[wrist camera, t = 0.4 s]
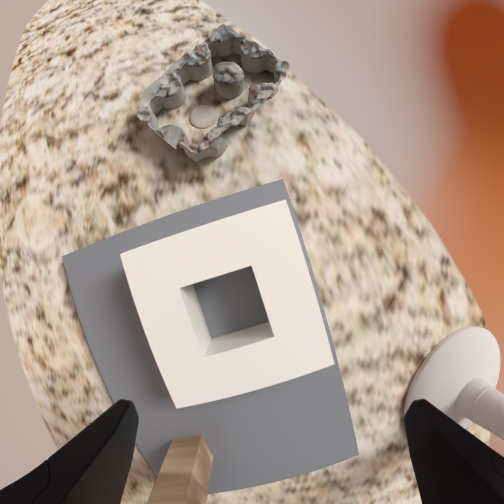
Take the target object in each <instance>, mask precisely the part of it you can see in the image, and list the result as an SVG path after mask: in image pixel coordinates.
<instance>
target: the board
mask: <svg viewBox="0 0 504 504" xmlns="http://www.w3.org/2000/svg"><path fill="white" fill-rule="evenodd" d="M285 199H286V202H287V205H288V208H289V211H290V214H291V217H292V220H293V223H294V226H295V229H296V232H297V235H298V238H299V242H300V245H301V248H302V251H303V254H304V258H305V261H306V264H307V267H308V271H309V274H310V277H311V281H312V284H313V287H314V291H315V294H316V298H317V301H318V305H319V308H320V312H321V315H322V319H323V322H324V326H325V330H326V333H327V337H328V341H329V344H330V348H331V352H332V356H333V359H334V363H335V364H334V365H331V366H328V367H326V368H323V369H320V370H317V371H315V372H312V373H309V374H306V375H303V376H300V377H297V378H294V379H291V380H288V381H285V382H282V383H278V384H275V385H272V386H268V387H265V388H262V389H258V390H255V391H251V392H247V393H244V394H240V395H236V396H232V397H228V398H224V399H220V400H215V401H211V402H207V403H202V404H197V405H193V406H188V407H182V408H177V409H176V406H175V404H174V402H173V400H172V398H171V396H170V393H169V391H168V389H167V387H166V384H165V382H164V380H163V377H162V375H161V373H160V370H159V368H158V365H157V363H156V360H155V358H154V355H153V353H152V350H151V348H150V345H149V342H148V340H147V337H146V334H145V332H144V329H143V326H142V323H141V320H140V317H139V315H138V312H137V309H136V306H135V303H134V300H133V296H132V293H131V290H130V287H129V284H128V280H127V277H126V274H125V270H124V267H123V263H122V260H121V256H120V254H121V253H124V252H126V251H129V250H132V249H135V248H138V247H140V246H143V245H146V244H149V243H152V242H155V241H157V240H160V239H163V238H166V237H169V236H172V235H175V234H178V233H181V232H184V231H187V230H190V229H193V228H196V227H199V226H202V225H205V224H208V223H211V222H214V221H217V220H220V219H224V218H227V217H230V216H233V215H236V214H239V213H243V212H246V211H249V210H252V209H255V208H259V207H262V206H265V205H269V204H272V203H275V202H279V201H282V200H285ZM62 258H63V262H64V267H65V271H66V274H67V278H68V282H69V286H70V289H71V293H72V296H73V300H74V303H75V306H76V309H77V312H78V316H79V319H80V322H81V325H82V327H83V330H84V333H85V336H86V339H87V341H88V344H89V347H90V349H91V352H92V354H93V357H94V359H95V362H96V364H97V367H98V369H99V372H100V374H101V376H102V379H103V381H104V383H105V385H106V387H107V390H108V392H109V394H110V396H111V398H112V400H113V402H114V404H115V403H116V402H117V401H118V400H120V399H126V400H131V401H133V403H134V405H135V408H136V411H137V413H138V416H139V424H138V429H137V435H136V441H135V444H136V445H137V447H138V449H139V451H140V452H141V454H142V455H143V457H144V459H145V460H146V462H147V464H148V465H149V467H150V468H151V470H152V471H153V473H154V474H155V476H156V477H158V474H159V472H160V469H161V467H162V464H163V462H164V459H165V457H166V454H167V452H168V449H169V447H170V444H171V442H172V439H175V438H181V437H188V436H194V435H200V434H202V435H203V437H204V439H205V441H206V443H207V445H208V447H209V449H210V451H211V453H212V455H213V462H212V469H211V475H210V481H209V487H208V493H207V494H211V493H218V492H225V491H232V490H238V489H243V488H249V487H254V486H259V485H263V484H268V483H272V482H276V481H280V480H284V479H288V478H292V477H295V476H299V475H302V474H306V473H309V472H312V471H315V470H318V469H321V468H324V467H327V466H330V465H333V464H336V463H339V462H341V461H344V460H347V459H349V458H352V457H354V456H357V455H359V453H358V448H357V443H356V438H355V433H354V429H353V424H352V420H351V415H350V411H349V406H348V402H347V398H346V393H345V389H344V385H343V381H342V377H341V373H340V369H339V365H338V361H337V357H336V353H335V349H334V345H333V342H332V338H331V334H330V330H329V327H328V323H327V319H326V316H325V312H324V309H323V305H322V302H321V298H320V295H319V291H318V288H317V284H316V281H315V278H314V274H313V271H312V268H311V264H310V261H309V258H308V255H307V251H306V248H305V245H304V242H303V239H302V235H301V232H300V229H299V226H298V223H297V220H296V217H295V214H294V211H293V208H292V205H291V202H290V199H289V196H288V193H287V190H286V187H285V184H284V181H283V179H282V180H278V181H275V182H271V183H268V184H264V185H261V186H258V187H254V188H251V189H248V190H244V191H241V192H238V193H235V194H232V195H228V196H225V197H222V198H219V199H216V200H213V201H210V202H207V203H204V204H201V205H198V206H195V207H192V208H189V209H186V210H183V211H180V212H177V213H174V214H171V215H168V216H165V217H163V218H160V219H157V220H154V221H151V222H149V223H146V224H143V225H141V226H138V227H135V228H132V229H130V230H127V231H124V232H122V233H119V234H117V235H114V236H111V237H109V238H106V239H104V240H101V241H99V242H96V243H94V244H91V245H89V246H86V247H84V248H81V249H79V250H77V251H74V252H72V253H69V254H67V255H65V256H62ZM193 286H194V289H195V292H196V295H197V298H198V301H199V304H200V307H201V310H202V313H203V316H204V319H205V322H206V325H207V327H208V330H209V333H210V336H211V339H212V338H216V337H219V336H223V335H226V334H230V333H233V332H236V331H240V330H243V329H246V328H250V327H253V326H256V325H259V324H263V323H266V322H269V320H268V316H267V313H266V310H265V307H264V304H263V301H262V298H261V295H260V291H259V288H258V285H257V282H256V279H255V276H254V273H253V269H252V266H248V267H245V268H242V269H239V270H236V271H232V272H229V273H226V274H223V275H220V276H217V277H213V278H210V279H207V280H204V281H200V282H197V283H194V284H193Z"/></svg>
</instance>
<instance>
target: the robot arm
mask: <svg viewBox="0 0 504 504" xmlns="http://www.w3.org/2000/svg"><path fill="white" fill-rule="evenodd" d="M138 424H139V416H138V413H137V411H136V408H135V405H134V403H133V401H131V400H126V399H120V400H118V401H117V402H116V403H115V404H113V405H112V406H111V407H110V408H109V409H107V410H106V411H105V412H104V413H103V414H102V415H100V416H99V417H98V418H97V419H96V420H94V421H93V422H92V423H91V424H90V425H88V426H87V427H86V428H85V429H84V430H82V431H81V432H80V433H79V434H78V435H76V436H75V437H74V438H73V439H71V440H70V441H69V442H68V443H67V444H65V445H64V446H63V447H62V448H60V449H59V450H58V451H57V452H56V453H54V454H53V455H52V456H51V457H49V458H48V460H45V461H44V462H43V463H42V464H40V465H39V466H38V467H36V468H35V469H34V470H32V471H31V472H30V473H28V474H27V475H25V476H23V477H22V478H20V479H19V480H17V481H15V482H14V483H12V484H10V485H8V486H7V487H5V488H3V489H1V490H0V504H120V502H121V498H122V495H123V491H124V488H125V484H126V481H127V477H128V474H129V470H130V467H131V463H132V459H133V453H134V447H135V441H136V435H137V429H138ZM404 424H405V429H406V435H407V440H408V446H409V452H410V457H411V461H412V465H413V469H414V472H415V476H416V480H417V484H418V488H419V492H420V496H421V501H422V504H504V457H503V456H501V455H500V454H498V453H497V452H496V451H494V450H492V449H491V448H490V447H489V446H487V445H486V444H485V443H483V442H482V441H481V440H479V439H478V438H477V437H475V436H474V435H473V434H471V433H470V432H469V431H467V430H466V429H465V428H463V427H462V426H460V425H459V424H458V423H456V422H455V421H454V420H452V419H451V418H450V417H448V416H447V415H446V414H444V413H443V412H442V411H440V410H439V409H438V408H436V407H435V406H434V405H432V404H431V403H430V402H429V401H427V400H426V399H417V400H414V401H413V402H412V403H411V405H410V407H409V408H408V410H407V412H406V414H405V416H404Z"/></svg>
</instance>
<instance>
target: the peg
mask: <svg viewBox="0 0 504 504" xmlns="http://www.w3.org/2000/svg"><path fill="white" fill-rule="evenodd" d="M212 462H213V455H212V453H211V451H210V449H209V447H208V445H207V443H206V441H205V439H204V437H203V435H202V434H200V435H194V436H188V437H181V438H175V439H172V442H171V444H170V447H169V449H168V452H167V454H166V457H165V459H164V462H163V464H162V467H161V469H160V472H159V474H158V477H157V479H156V482H155V484H154V487H153V489H152V492H151V494H150V497H149V499H148V502H147V504H206V500H207V493H208V487H209V481H210V475H211V469H212Z"/></svg>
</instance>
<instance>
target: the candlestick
mask: <svg viewBox="0 0 504 504" xmlns="http://www.w3.org/2000/svg"><path fill="white" fill-rule="evenodd" d="M499 371H500V351H499V346H498V343H497V341H496V339H495V338H494V336H493V335H492V334H491V333H490V332H489V331H488V330H486V329H484V328H481V327H477V326H468V327H464V328H461V329H458V330H456V331H454V332H453V333H451V334H449V335H448V336H447V337H445V338H444V339H443V340H442V341H441V342H439V343H438V344H437V345H436V346H435V347H434V348H433V350H432V351H431V352H430V353H429V354H428V356H427V357H426V358H425V360H424V361H423V362H422V364H421V365H420V367H419V369H418V370H417V372H416V374H415V376H414V378H413V380H412V382H411V384H410V387H409V390H408V393H407V396H406V400H405V405H404V416H405V414H406V412H407V410H408V408H409V407H410V405H411V403H412V402H413V401H414V400H417V399H426V400H427V401H429V402H430V403H431V404H432V405H434V406H435V407H436V408H438V409H439V410H440V411H442V412H443V413H444V414H446V415H447V416H448V417H450V418H451V419H452V420H454V421H455V422H456V423H458V424H459V425H460V426H462V427H463V428H465V429H467V428H468V427H469V426H471V425H472V424H473V423H476V424H478V425H479V426H481V427H483V428H485V429H486V430H488V431H490V432H491V433H493V434H495V435H497V436H498V437H500V438H501V439H503V440H504V394H502V393H501V392H499V391H497V390H496V389H495V388H496V385H497V381H498V377H499Z"/></svg>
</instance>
